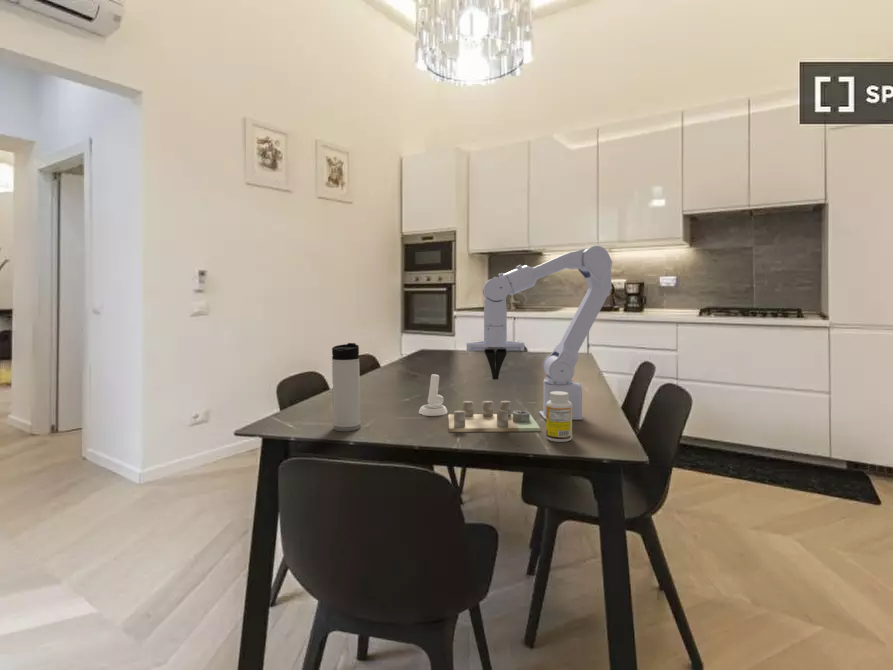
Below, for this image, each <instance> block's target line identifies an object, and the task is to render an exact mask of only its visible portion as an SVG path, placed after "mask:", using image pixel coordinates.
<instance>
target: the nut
mask: <svg viewBox="0 0 893 670" xmlns="http://www.w3.org/2000/svg"><path fill="white" fill-rule="evenodd" d="M512 414H513V421H514V422H519V423H525V422H530V414H531V413H530V411H527V410H513V411H512Z"/></svg>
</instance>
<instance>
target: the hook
mask: <svg viewBox="0 0 893 670" xmlns="http://www.w3.org/2000/svg"><path fill="white" fill-rule="evenodd" d="M439 382H440V375H439V374H436V373H434V374H433V373H432V374H431V375H430V383H429V392H428V397H427V403H428V404H424V405H421V407H420V408H419V411H418V414H420V415H421V414H422V415H421V416H426V417H427V416H431V417H434V416H435V417H437V416H445V415H446V414H448V409H447V407H446V406H445V405H443V403H444V397H443V396H442V395H440V394H438V392H439Z"/></svg>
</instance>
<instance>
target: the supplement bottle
mask: <svg viewBox="0 0 893 670" xmlns="http://www.w3.org/2000/svg"><path fill="white" fill-rule="evenodd" d="M568 400H569V394H568V393H567V392H562V391H554V392H550V400H549V401H548V402H547V403H546V420H545V436H546V439H547V440H548V441H551V442H555V443H556V442H557V443H566V442H569V441H571V440H572V438H573V420H572V403H571V402H570V401H568Z"/></svg>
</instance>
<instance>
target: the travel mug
mask: <svg viewBox="0 0 893 670" xmlns="http://www.w3.org/2000/svg"><path fill="white" fill-rule="evenodd" d="M331 356H332V357H331V361H332V363H331V364H332V365H331V367H332V368H331V371H332V372H331V373H332V409H333V411H332V412H333V429H334V430H335V431H336V432H343V433H344V432H346V433H347V432H354V431H355V432H356V431H358V430H359V429H361V391H360V390H361V389H360V388H361V387H360V384H361V383H360V380H361V378H360V373H361V372H360V345H358V344H356V343H355V342H352V343H351V342H347V343H345V344H339V345H335V346H333V347H332V348H331Z"/></svg>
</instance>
